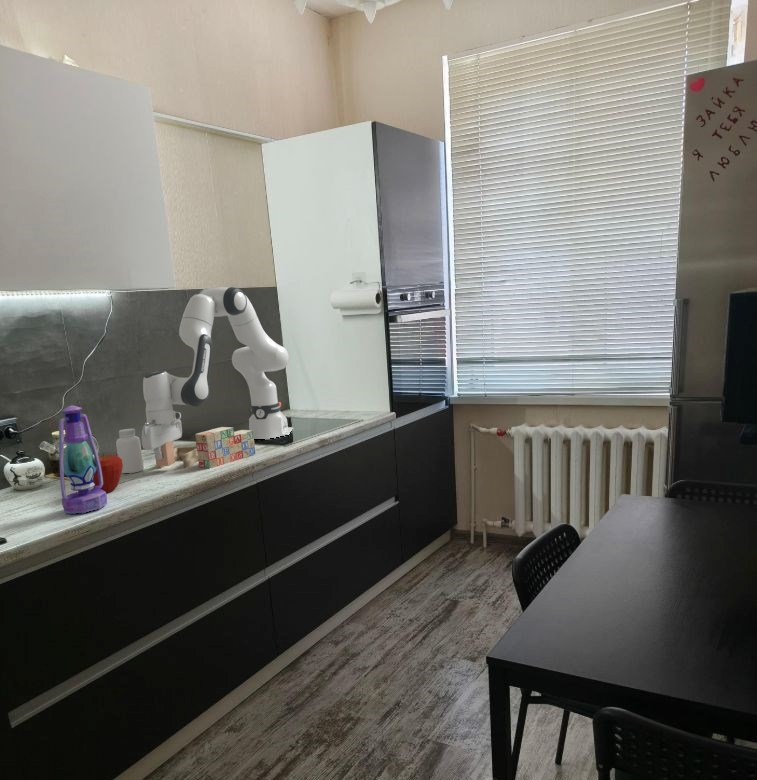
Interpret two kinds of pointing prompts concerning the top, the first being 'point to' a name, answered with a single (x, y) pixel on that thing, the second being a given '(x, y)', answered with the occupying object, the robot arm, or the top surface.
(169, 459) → the terracotta block
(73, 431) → the lantern
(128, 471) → the pill bottle
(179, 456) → the oak u-shaped frame
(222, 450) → the stack of blocks
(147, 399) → the robot arm
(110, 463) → the apple
